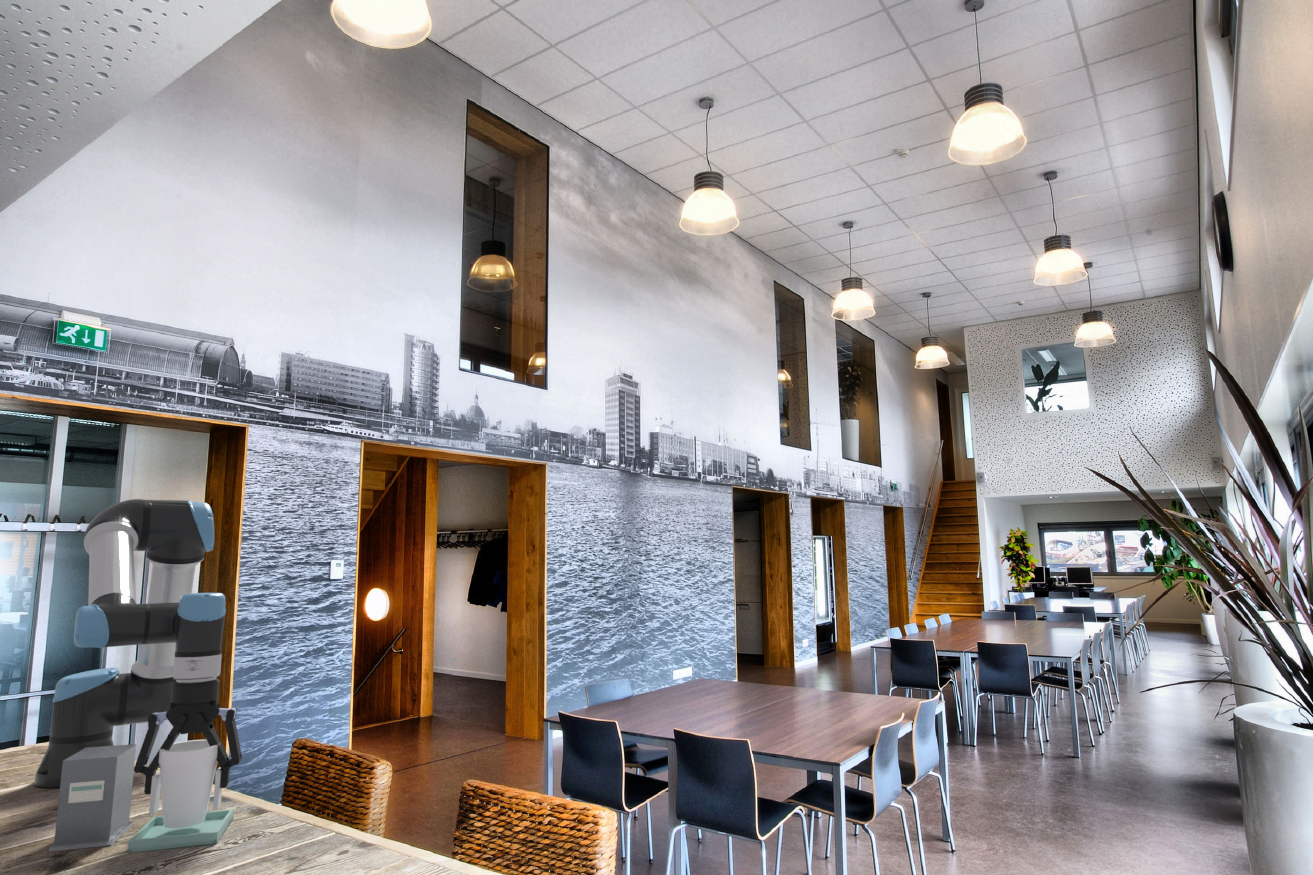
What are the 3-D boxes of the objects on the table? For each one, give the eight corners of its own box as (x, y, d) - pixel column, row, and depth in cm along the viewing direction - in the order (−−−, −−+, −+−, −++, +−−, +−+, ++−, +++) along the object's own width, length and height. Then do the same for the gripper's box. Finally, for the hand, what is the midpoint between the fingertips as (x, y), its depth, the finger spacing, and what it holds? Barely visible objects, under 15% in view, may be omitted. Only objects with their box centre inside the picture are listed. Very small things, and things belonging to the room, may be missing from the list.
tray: (152, 827, 140) (153, 816, 140) (233, 819, 144) (233, 808, 144) (127, 852, 128) (128, 841, 128) (216, 843, 132) (217, 831, 132)
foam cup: (140, 827, 134) (147, 749, 136) (188, 811, 142) (194, 737, 144) (180, 834, 130) (186, 753, 132) (227, 816, 139) (232, 741, 141)
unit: (75, 830, 139) (83, 747, 141) (132, 824, 142) (140, 743, 144) (48, 851, 129) (58, 761, 131) (111, 845, 131) (119, 756, 134)
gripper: (119, 685, 133) (105, 823, 130) (259, 678, 140) (250, 809, 136) (133, 679, 140) (121, 810, 137) (266, 673, 147) (257, 797, 144)
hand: (185, 809), depth 137 cm, fingers closed on foam cup, 9 cm apart
